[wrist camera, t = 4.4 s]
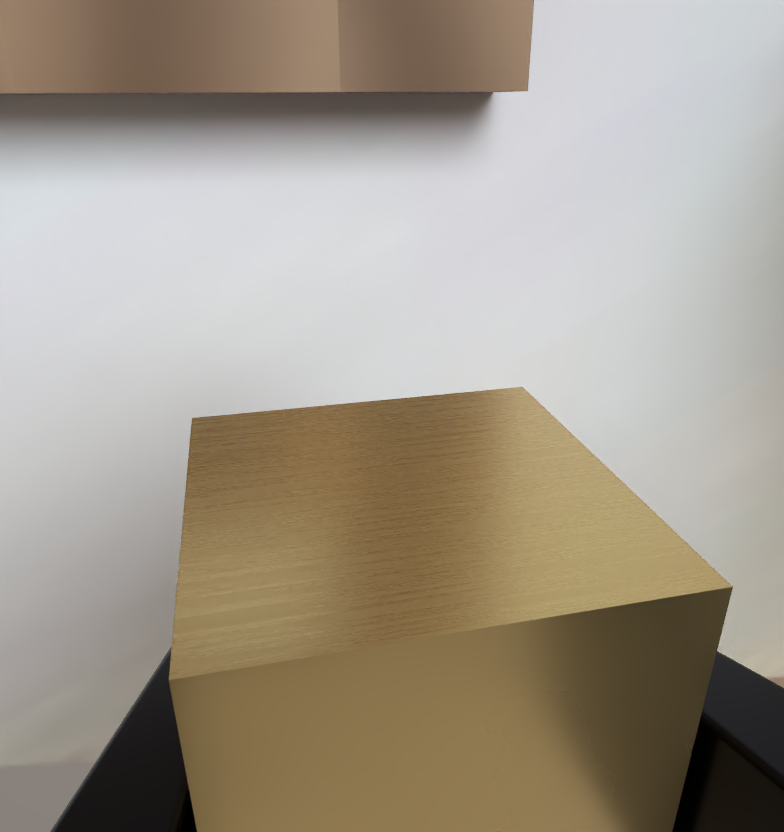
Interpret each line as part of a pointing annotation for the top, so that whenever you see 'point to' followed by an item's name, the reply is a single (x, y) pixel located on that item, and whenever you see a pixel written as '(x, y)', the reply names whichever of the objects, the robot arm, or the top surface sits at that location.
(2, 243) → the top surface
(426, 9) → the brown square frame
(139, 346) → the top surface
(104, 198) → the top surface
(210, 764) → the tan wooden block
